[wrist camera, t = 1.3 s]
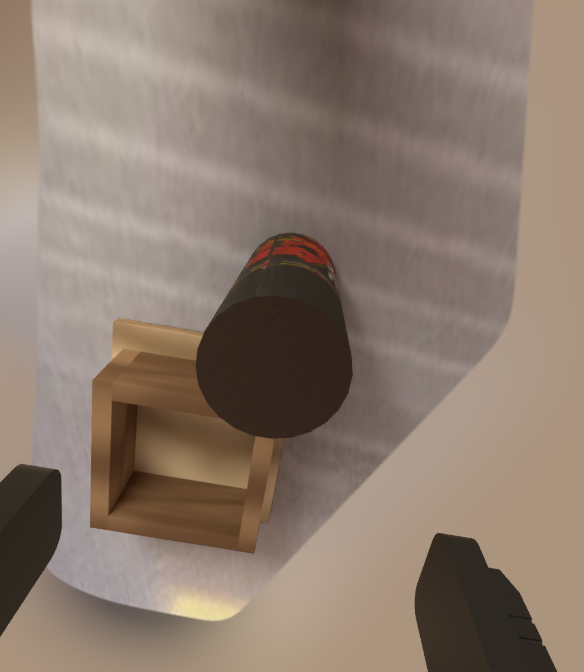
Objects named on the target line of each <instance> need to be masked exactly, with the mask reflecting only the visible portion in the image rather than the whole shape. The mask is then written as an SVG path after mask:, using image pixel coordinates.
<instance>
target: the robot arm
mask: <svg viewBox="0 0 584 672" xmlns="http://www.w3.org/2000/svg"><path fill="white" fill-rule="evenodd" d="M61 529H62V499H61V474H60V471H59V470H56V469H50V468H44V467H38V466H32V465H25V464H20V465H18V466H16V467H15V468H14V469H13V470H12V471H11V472H10V473H9V474H8V475H7V476H6V477H5V478H4V479H3V480H2V481H1V482H0V636H1V635H2V633H3V632H4V630H5V629H6V627H7V626H8V624H9V623H10V621H11V620H12V618H13V616H14V615H15V613H16V612H17V610H18V609H19V607H20V606H21V604H22V603H23V601H24V600H25V598H26V597H27V595H28V593H29V592H30V590H31V589H32V587H33V586H34V584H35V583H36V581H37V580H38V578H39V577H40V575H41V574H42V572H43V571H44V569H45V567H46V566H47V564H48V563H49V561H50V560H51V558H52V556H53V554H54V552H55V550H56V548H57V545H58V542H59V539H60V535H61ZM415 615H416V620H417V624H418V629H419V633H420V638H421V642H422V647H423V651H424V656H425V660H426V665H427V669H428V672H557V670H556V668H555V666H554V664H553V662H552V660H551V658H550V656H549V654H548V651H547V649H546V647H545V646H543V645H542V639H541V637H540V635H539V632H538V630H537V628H536V626H535V624H533V623H532V618H531V616H530V614H529V612H528V609H527V607H526V605H525V603H524V601H523V599H522V597H521V595H520V593H519V592H518V591H517V589H516V588H515V587H514V586H513V585H512V584H511V583H510V581H509V580H508V579H507V578H506V577H505V575H504V574H503V573H502V572H501V571H500V570H499V569H493V568H488V566H487V564H486V561H485V559H484V556H483V554H482V552H481V550H480V547H479V545H478V543H477V542H476V540H474V539H472V538H466V537H460V536H454V535H448V534H442V533H438V534H436V535H435V536H434V538H433V541H432V543H431V546H430V549H429V552H428V555H427V558H426V561H425V563H424V566H423V569H422V572H421V575H420V578H419V580H418V583H417V587H416V592H415Z"/></svg>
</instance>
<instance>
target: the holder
mask: <svg viewBox="0 0 584 672" xmlns="http://www.w3.org/2000/svg"><path fill="white" fill-rule="evenodd" d="M203 334H204V332H198V331H192V330H186V329H180V328H174V327H168V326H162V325H157V324H151V323H145V322H139V321H133V320H127V319H121V318H118V319H117V320H116V321H115V322H113V341H112V361H111V362H110V363H109V364H108V365H107V366H106V367H105V368H104V369H103V370H102V371H101V372H100V373H99V374H98V375H97V376H96V377H95V378H94V379H93V383H92V446H91V509H90V527H91V528H98V529H104V530H110V531H117V532H123V533H129V534H135V535H142V536H148V537H154V538H160V539H167V540H173V541H179V542H185V543H192V544H198V545H204V546H210V547H217V548H223V549H229V550H235V551H242V552H248V553H254V551H255V546H256V540H257V534H258V529H259V523H260V522H263V523H268V521H269V516H270V510H271V505H272V500H273V494H274V489H275V484H276V478H277V473H278V467H279V462H280V457H281V451H282V446H283V441H284V438H278V439H270V438H264V437H257V436H252V435H250V434H247V433H245V432H242V431H240V430H238V429H235V428H234V427H232V426H231V425H229V424H228V423H227V422H225V421H224V420H222V419H221V418H220V417H219V416H218V415H217V414H216V413H215V412H214V411H213V409H212V408H211V407H210V406H209V405H208V404H207V402H206V400H205V398H204V396H203V394H202V392H201V390H200V388H199V385H198V379H197V374H196V368H195V367H196V357H197V348H198V346H199V344H200V341H201V339H202V336H203Z"/></svg>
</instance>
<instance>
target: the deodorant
mask: <svg viewBox="0 0 584 672" xmlns="http://www.w3.org/2000/svg"><path fill="white" fill-rule="evenodd" d="M195 368H196V374H197V379H198V385H199V388H200V390H201V392H202V394H203V396H204V398H205V400H206V402H207V404H208V405H209V406H210V407H211V408H212V409H213V411H214V412H215V413H216V414H217V415H218V416H219V417H220V418H221V419H222V420H224V421H225V422H227V423H228V424H229V425H231V426H232V427H234V428H235V429H238V430H240V431H242V432H245V433H247V434H250V435H252V436H257V437H264V438H270V439H278V438H292V437H295V436H298V435H302V434H305V433H308V432H311V431H312V430H314V429H316V428H317V427H319V426H321V425H322V424H324V423H326V422H327V421H328V420H329V419H330V418H331V417H332V416H333V415H334V414H335V413H336V412H337V411H338V410H339V408H340V407H341V405H342V403H343V401H344V400H345V398H346V396H347V394H348V392H349V388H350V383H351V379H352V375H353V374H352V356H351V351H350V346H349V341H348V336H347V331H346V326H345V321H344V316H343V311H342V306H341V301H340V295H339V290H338V285H337V280H336V275H335V270H334V266H333V263H332V261H331V258H330V256H329V255H328V253H327V252H326V250H325V249H324V247H323V246H321V245H320V244H319V243H318V242H317V241H315V240H314V239H312V238H310V237H307V236H305V235H302V234H296V233H286V234H279V235H276V236H274V237H271V238H269V239H268V240H266V241H265V242H263V243H262V244H261V245H260V246H259V247H258V248H257V249H256V251H255V252H254V253H253V255H252V256H251V258H250V259H249V261H248V263H247V264H246V266H245V267H244V269H243V271H242V272H241V274H240V275H239V277H238V279H237V280H236V282H235V283H234V285H233V287H232V288H231V290H230V291H229V293H228V295H227V296H226V298H225V299H224V301H223V303H222V304H221V306H220V307H219V309H218V311H217V312H216V314H215V315H214V317H213V319H212V320H211V322H210V323H209V325H208V327H207V328H206V330H205V331H204V334H203V336H202V339H201V341H200V344H199V346H198V348H197V357H196V367H195Z"/></svg>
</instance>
